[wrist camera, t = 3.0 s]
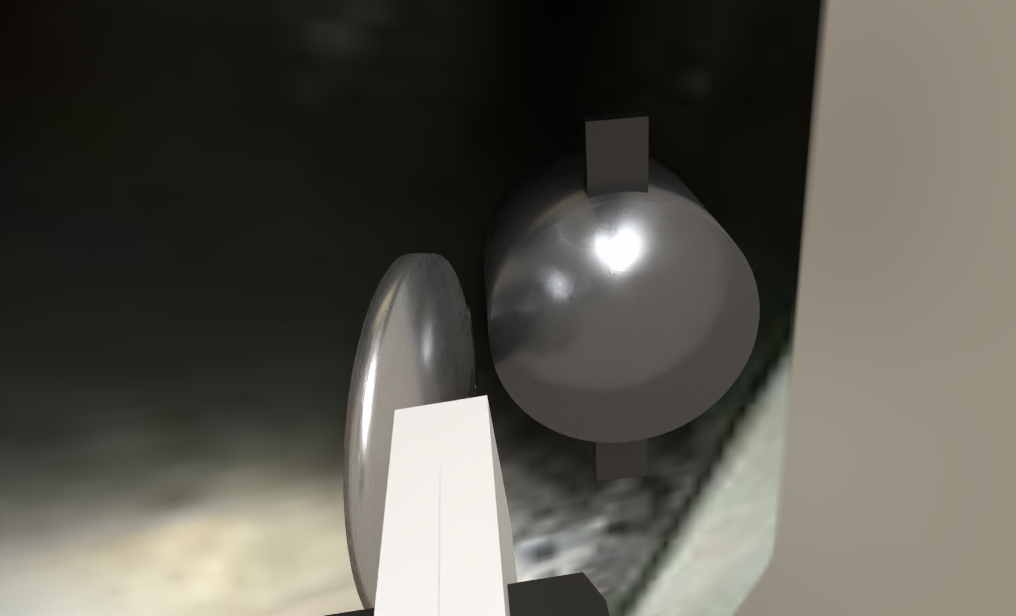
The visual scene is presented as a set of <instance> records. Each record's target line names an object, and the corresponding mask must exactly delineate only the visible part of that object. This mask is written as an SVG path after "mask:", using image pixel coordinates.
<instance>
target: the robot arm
mask: <svg viewBox="0 0 1016 616" xmlns="http://www.w3.org/2000/svg"><path fill="white" fill-rule="evenodd" d="M326 616H609V612H608V608H607V604H606V600H605V599H604V598H603V596H602V595H601V594H600V593H599V592H598V590H597V589H596V588H595V587H594V585H593V584H592V583H591V582H590V580H589V579H588V578H587V577H586V575H585V574H584V573H583V572H581V573H575V574H569V575H562V576H556V577H550V578H543V579H537V580H531V581H525V582H518V583H517V576H516V567H515V557H514V548H513V538H512V529H511V521H510V516H509V511H508V505H507V500H506V495H505V489H504V484H503V478H502V473H501V468H500V462H499V457H498V451H497V446H496V441H495V435H494V430H493V425H492V419H491V414H490V408H489V403H488V398H487V395H486V396H480V397H473V398H467V399H461V400H455V401H448V402H442V403H436V404H430V405H423V406H417V407H411V408H405V409H398V410H395V414H394V424H393V433H392V443H391V453H390V463H389V473H388V483H387V492H386V502H385V512H384V522H383V532H382V542H381V552H380V561H379V571H378V581H377V591H376V601H375V608H370V609H364V610H357V611H351V612H345V613H338V614H332V615H326Z"/></svg>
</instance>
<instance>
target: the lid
mask: <svg viewBox="0 0 1016 616" xmlns="http://www.w3.org/2000/svg"><path fill="white" fill-rule="evenodd" d="M477 382H478V375H477V366H476V356H475V347H474V338H473V328H472V319H471V310H470V304H469V303H467V302H465V298H464V295H463V292H462V288H461V285H460V283H459V280H458V278H457V275H456V273H455V272H454V270H453V268H452V266H451V265H450V263H449V262H448V261H447V260H446V259H445V258H444V257H442V256H441V255H439V254H434V253H410V254H406V255H403V256H401V257H400V258H398V259H397V260H395V261H394V263H393V264H392V265H391V266H390V267H389V268H388V269H387V271H386V273H385V274H384V276H383V278H382V279H381V281H380V282H379V285H378V287H377V289H376V291H375V293H374V295H373V298H372V300H371V303H370V306H369V309H368V311H367V314H366V317H365V320H364V324H363V328H362V331H361V335H360V338H359V342H358V347H357V352H356V356H355V361H354V366H353V371H352V378H351V384H350V391H349V397H348V407H347V417H346V426H345V443H344V485H343V491H344V512H345V525H346V535H347V544H348V551H349V557H350V562H351V568H352V573H353V577H354V580H355V584H356V588H357V592H358V594H359V597H360V600H361V602H362V605H363V607H364V609H370V608H375V601H376V591H377V581H378V571H379V561H380V552H381V542H382V532H383V522H384V512H385V502H386V492H387V483H388V473H389V463H390V453H391V443H392V433H393V424H394V414H395V410H398V409H405V408H411V407H417V406H423V405H430V404H436V403H442V402H448V401H455V400H461V399H467V398H473V397H476V384H477Z"/></svg>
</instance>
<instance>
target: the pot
mask: <svg viewBox="0 0 1016 616" xmlns="http://www.w3.org/2000/svg"><path fill="white" fill-rule="evenodd" d="M582 138H583V148H579V149H574V150H571V151H567V152H564V153H561V154H558V155H556V156H554V157H551V158H549V159H547V160H545V161H543V162H542V163H540V164H538V165H536V166H535V167H533V168H532V169H530V170H529V171H528V172H527V173H525V174H524V175H523V176H521V177H520V178H519V179H518V180H517V181H516V182H515V183H514V184H513V185H512V186H511V187H510V188H509V190H508V191H507V192H506V194H505V195H504V196H503V198H502V199H501V200H500V202H499V204H498V205H497V207H496V209H495V211H494V212H493V215H492V217H491V220H490V222H489V224H488V228H487V231H486V235H485V239H484V247H483V271H484V283H485V296H486V308H487V320H488V332H489V344H490V350H491V356H492V360H493V363H494V366H495V369H496V372H497V375H498V377H499V378H500V380H501V382H502V384H503V386H504V388H505V389H506V391H507V392H508V394H509V395H510V396H511V398H512V399H513V400H514V401H515V402H516V403H517V405H518V406H519V407H520V408H521V409H522V410H523V411H524V412H526V413H527V414H528V415H529V416H531V417H532V418H533V419H534V420H536V421H538V422H539V423H541V424H542V425H544V426H546V427H547V428H549V429H552V430H554V431H556V432H558V433H561V434H563V435H566V436H570V437H573V438H576V439H581V440H586V441H592V442H593V463H594V471H595V475H596V479H597V481H599V480H609V479H619V478H630V477H640V476H647V450H648V438H651V437H655V436H658V435H661V434H664V433H666V432H669V431H672V430H674V429H676V428H678V427H680V426H682V425H684V424H686V423H688V422H690V421H692V420H693V419H695V418H696V417H698V416H699V415H701V414H702V413H704V412H705V411H706V410H707V409H709V408H710V407H711V406H712V405H714V404H715V403H716V402H717V401H718V400H719V399H720V398H721V397H722V396H723V395H724V394H725V393H726V392H727V391H728V390H729V388H730V387H731V386H732V385H733V383H734V382H735V381H736V379H737V378H738V377H739V375H740V373H741V372H742V370H743V368H744V367H745V365H746V363H747V361H748V358H749V356H750V354H751V352H752V349H753V346H754V343H755V339H756V336H757V331H758V324H759V297H758V290H757V285H756V282H755V279H754V276H753V272H752V270H751V268H750V266H749V264H748V262H747V260H746V258H745V256H744V255H743V253H742V252H741V251H740V249H739V248H738V246H737V245H736V244H735V242H734V241H733V240H732V239H731V238H730V237H729V235H728V234H727V233H726V232H725V231H724V229H723V228H722V227H721V226H720V225H719V224H718V222H717V221H716V220H715V219H714V218H713V217H712V215H711V214H710V213H709V212H708V211H707V210H706V208H705V207H704V206H703V205H702V204H701V202H700V201H699V200H698V199H697V198H696V197H695V195H694V194H693V193H692V192H691V191H690V190H689V188H688V187H687V186H686V185H685V184H684V183H683V182H682V181H681V179H680V178H679V177H678V176H677V175H676V174H675V173H674V172H672V171H671V170H670V169H669V168H667V167H666V166H665V165H663V164H662V163H660V162H658V161H657V160H655V159H653V158H651V157H649V156H648V115H647V114H646V113H645V112H644V111H634V112H623V113H612V114H601V115H589V116H582Z"/></svg>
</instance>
